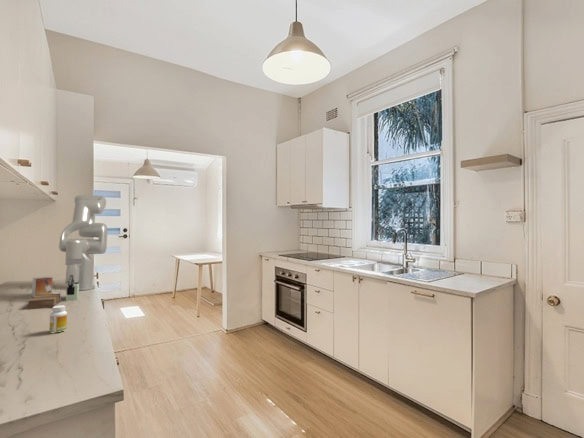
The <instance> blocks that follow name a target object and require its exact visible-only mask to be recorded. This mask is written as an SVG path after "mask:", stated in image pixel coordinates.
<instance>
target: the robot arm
mask: <svg viewBox="0 0 584 438" xmlns="http://www.w3.org/2000/svg"><path fill="white" fill-rule="evenodd" d="M106 206H107V199H106V197H105V196H104V195H103V196H102V195H92V194H91V195H90V194H89V195H87V194H79V195H77V196H75V197H74V209H73V210H74V211H73V216H72V222H71V223H69V224H68V225H66V227H65V228H63V230H62V231H61V233H60V237H59V243H58V248H59V250H60V251H61V252H64V253H65V266H66V270H65V280H64V281H65V284H67V285H68V287H67V286H66V287H67V295H74V290H75V287H74V284H79V291H88V290H94V289H95V288H96V286H95V284H93V279H94V260H93V258H92V257H91V255H102V254H105V253H106V251H107V245H108V244H107V243H108V227H107V225H106V224H105V223H104V222H96V215H101V214H102V213H103V212H104V210H105V208H106ZM76 231H78V236H79V237H82V238H68V237H69V236H70V234H72V233H74V232H76ZM87 238H88V239H87ZM89 238H90V239H89ZM91 238H94V239H91ZM95 238H96V239H95Z"/></svg>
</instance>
